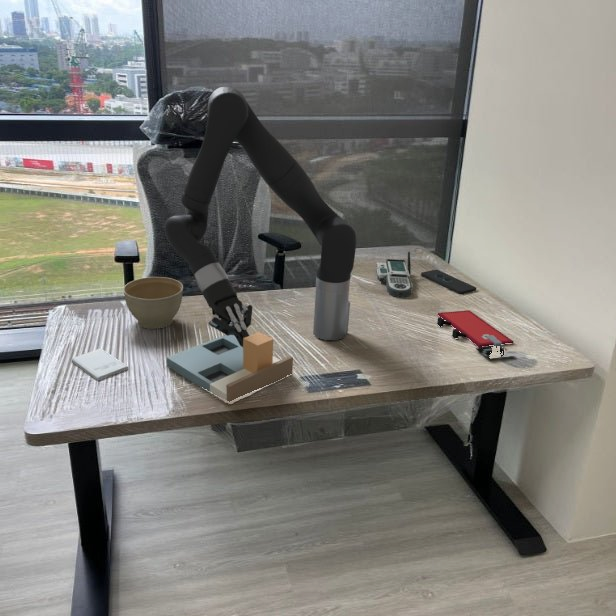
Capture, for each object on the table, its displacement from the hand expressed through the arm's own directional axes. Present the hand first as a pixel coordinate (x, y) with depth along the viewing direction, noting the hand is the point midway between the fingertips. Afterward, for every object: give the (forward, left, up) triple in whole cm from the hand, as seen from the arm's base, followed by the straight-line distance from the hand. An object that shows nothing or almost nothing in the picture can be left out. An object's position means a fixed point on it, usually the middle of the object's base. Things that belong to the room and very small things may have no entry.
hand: (247, 346), depth 146 cm
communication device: (-76, -10, -7) cm, 78 cm away
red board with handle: (-62, +29, -7) cm, 69 cm away
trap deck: (+4, -3, -7) cm, 8 cm away
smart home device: (-92, +1, -7) cm, 93 cm away
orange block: (0, +4, -4) cm, 6 cm away
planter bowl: (+2, -38, -7) cm, 38 cm away
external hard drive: (+25, -26, -8) cm, 37 cm away
